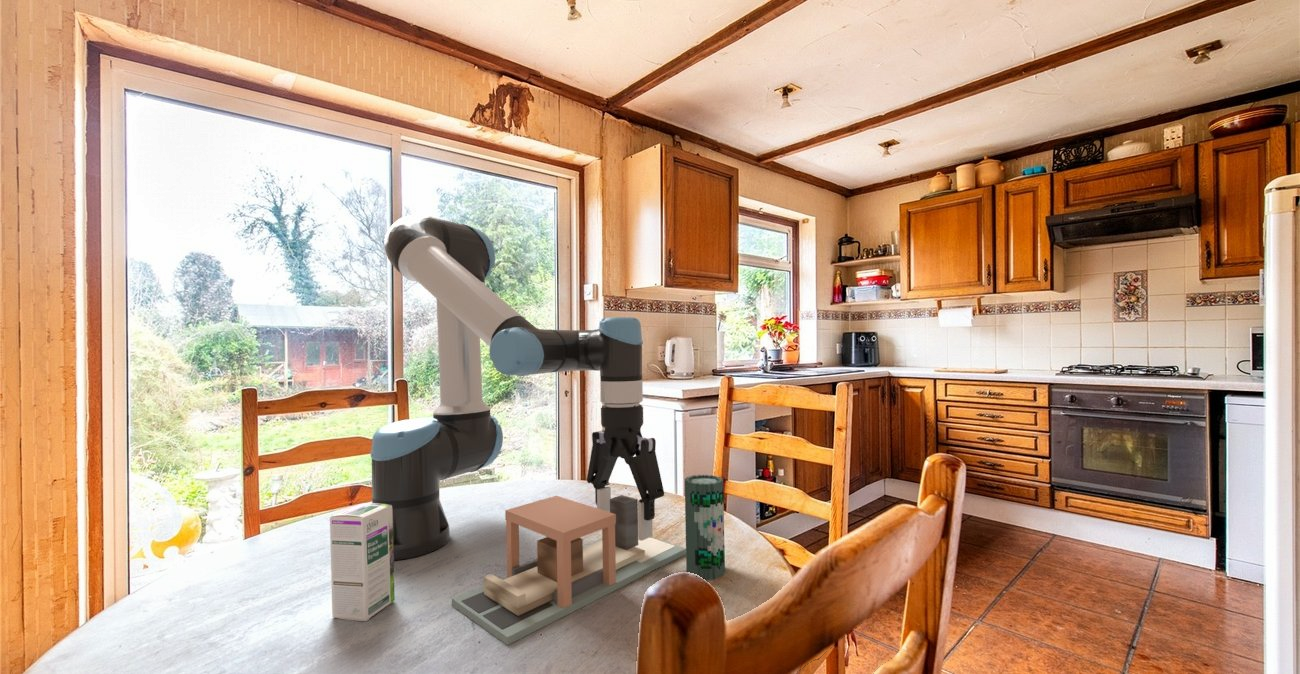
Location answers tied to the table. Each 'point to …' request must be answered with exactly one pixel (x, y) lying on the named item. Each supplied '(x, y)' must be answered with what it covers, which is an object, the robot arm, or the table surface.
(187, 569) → the table surface
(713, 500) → the can
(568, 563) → the track
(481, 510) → the table surface
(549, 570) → the block
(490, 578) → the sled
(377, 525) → the syrup box
